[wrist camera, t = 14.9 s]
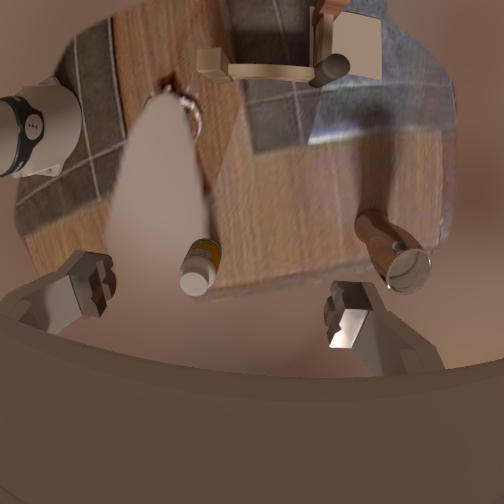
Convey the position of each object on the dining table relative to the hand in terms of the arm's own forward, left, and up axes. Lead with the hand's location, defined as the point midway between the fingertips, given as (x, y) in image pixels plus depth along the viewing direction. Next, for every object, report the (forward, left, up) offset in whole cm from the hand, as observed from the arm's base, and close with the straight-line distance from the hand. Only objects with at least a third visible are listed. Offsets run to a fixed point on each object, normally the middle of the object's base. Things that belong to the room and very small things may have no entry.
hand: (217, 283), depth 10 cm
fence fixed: (+2, +12, -33) cm, 35 cm away
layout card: (+13, +19, -33) cm, 40 cm away
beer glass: (+20, -10, -33) cm, 40 cm away
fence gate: (+9, +18, -32) cm, 38 cm away
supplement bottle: (-7, -16, -33) cm, 38 cm away
